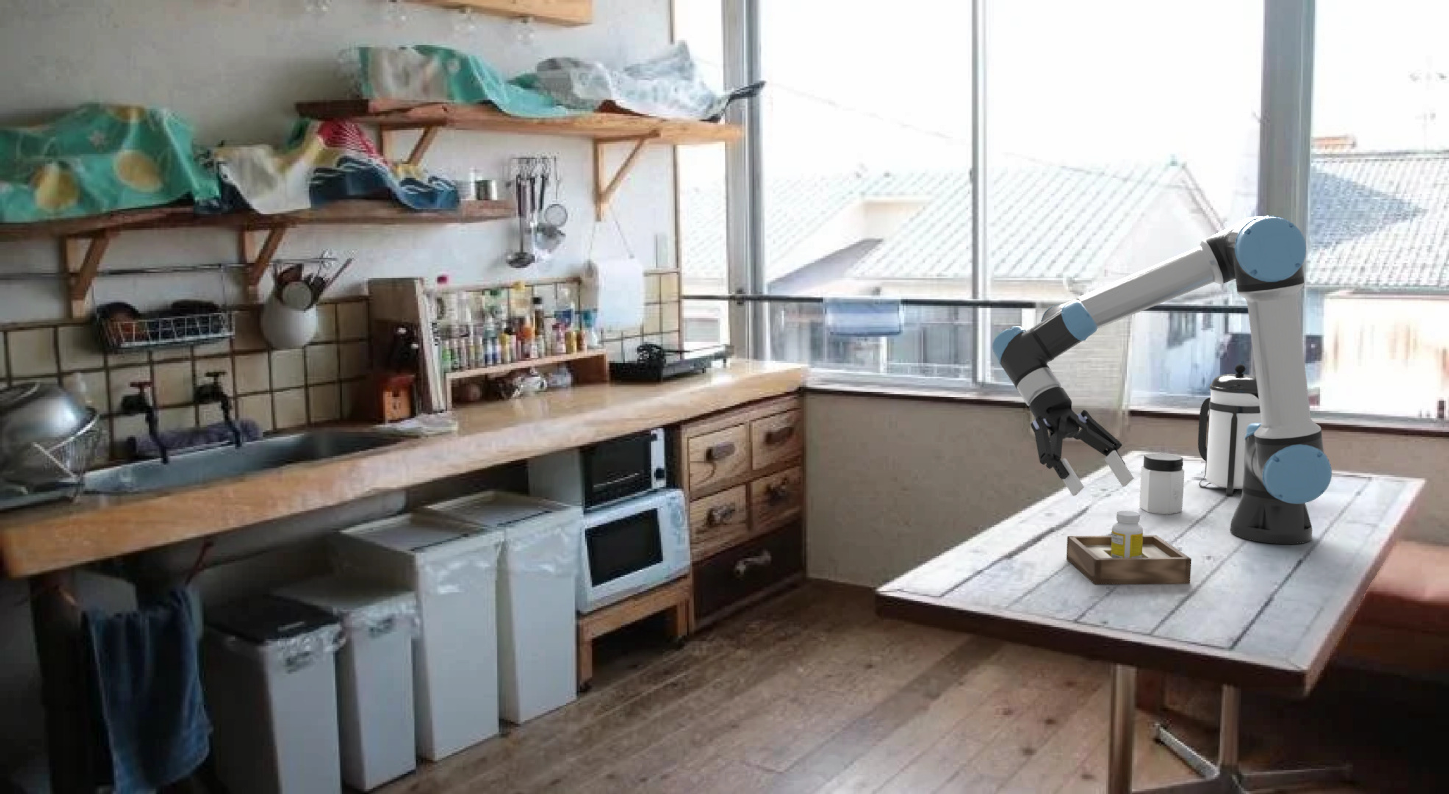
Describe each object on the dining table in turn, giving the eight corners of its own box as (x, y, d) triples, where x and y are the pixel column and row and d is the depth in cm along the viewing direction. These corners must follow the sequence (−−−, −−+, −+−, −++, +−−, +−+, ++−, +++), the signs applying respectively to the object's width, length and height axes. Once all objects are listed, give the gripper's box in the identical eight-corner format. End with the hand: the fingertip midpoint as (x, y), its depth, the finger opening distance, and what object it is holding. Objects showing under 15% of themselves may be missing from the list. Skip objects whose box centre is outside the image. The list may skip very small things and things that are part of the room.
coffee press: (1272, 487, 292) (1280, 362, 288) (1261, 500, 279) (1269, 369, 274) (1196, 478, 301) (1203, 357, 297) (1181, 490, 288) (1189, 364, 283)
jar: (1163, 516, 263) (1166, 461, 262) (1132, 508, 270) (1134, 455, 268) (1189, 510, 268) (1192, 457, 267) (1158, 503, 275) (1160, 451, 273)
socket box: (1155, 558, 231) (1156, 535, 231) (1189, 583, 215) (1191, 558, 215) (1066, 559, 231) (1067, 536, 230) (1094, 584, 215) (1095, 559, 214)
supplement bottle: (1141, 562, 225) (1144, 511, 223) (1141, 571, 220) (1144, 517, 218) (1110, 560, 226) (1113, 508, 225) (1109, 568, 221) (1112, 515, 220)
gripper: (1078, 403, 245) (1136, 490, 235) (988, 414, 232) (1045, 507, 222) (1100, 379, 240) (1160, 467, 230) (1009, 390, 227) (1068, 483, 217)
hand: (1104, 487), depth 226 cm, fingers open, 13 cm apart
